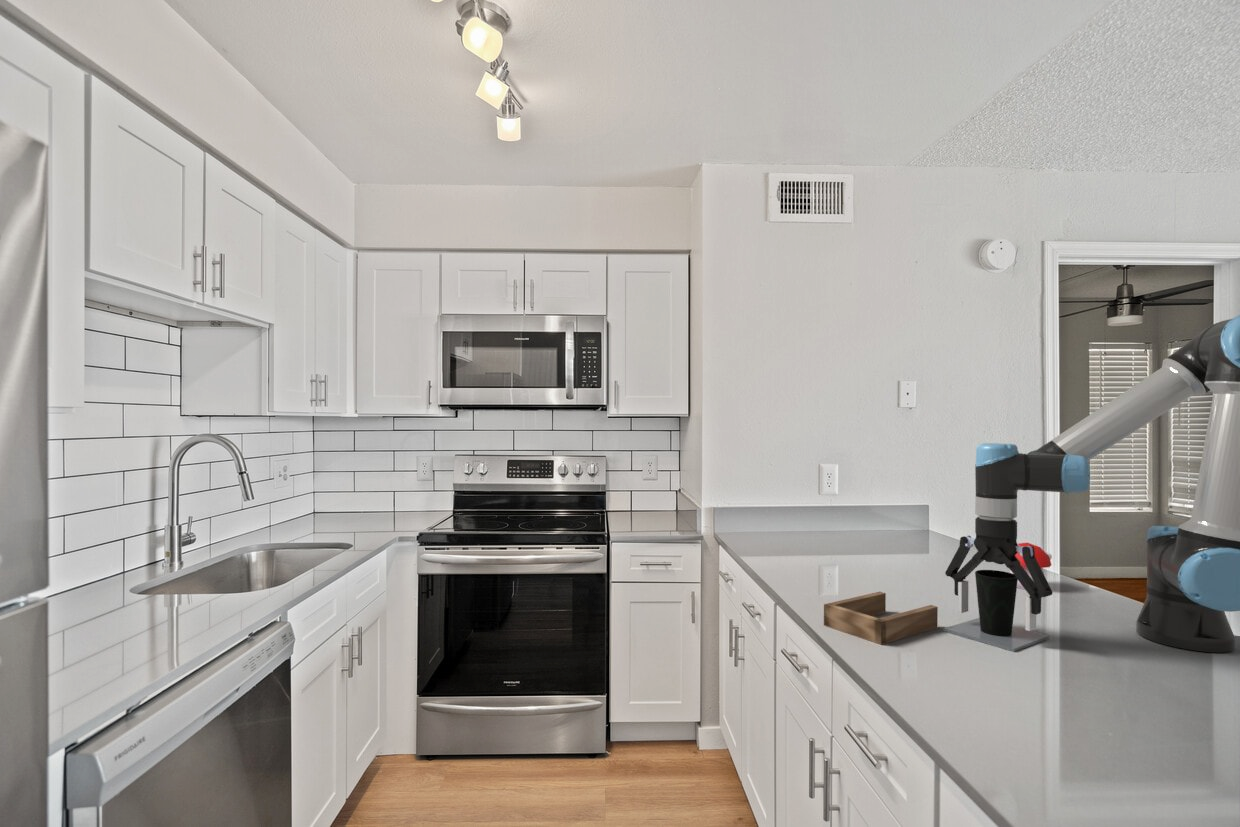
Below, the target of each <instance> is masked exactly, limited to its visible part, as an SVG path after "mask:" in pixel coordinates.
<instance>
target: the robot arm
mask: <svg viewBox="0 0 1240 827" xmlns="http://www.w3.org/2000/svg"><path fill="white" fill-rule="evenodd" d="M1209 392H1212V400H1211V406H1210V410H1209V417H1208V422H1207V428H1206V433H1205V437H1204V438H1205V439H1204V444H1203V449H1202V456H1201V461H1200V467H1199V471H1198V472H1199V473H1198V478H1197V484H1196V488H1195V493H1194V494H1195V495H1194V500H1193V506H1192V511H1191V518H1190V519H1189V520H1187V521H1186V522H1183V523H1182V524H1179V525H1178V526H1168V525H1167V526H1166V525H1152V526H1150V527H1149V528H1148V529H1147V536H1146V539H1145V543H1146V599H1145V600H1144V602H1143V605H1142V608H1141V610H1140V612H1139V614H1138V617H1137V619H1136V621H1135V625H1136V626H1135V627H1136V633H1137V634H1138V635H1139V636H1140V637H1143V638H1145V639H1147V640H1150V641H1152V642H1155V643H1158V644H1162V645H1165V646H1169V647H1173V648H1177V649H1178V648H1179V649H1184V650H1191V651H1198V652H1203V653H1204V652H1206V653H1230V652H1232V651H1234V650H1235V649H1236V638H1235V635H1234V632H1233V629H1232V627H1231V624H1230V621H1229V620H1228V617H1227V615H1226V613H1225V612H1240V314H1239V315H1237V316H1234V317H1233V318H1229V319H1225V320H1222V321H1221V320H1220V321H1219V322H1216V323H1214V324H1212V325H1210V326H1209V327H1206V328H1205V329H1203V330H1202V331H1201V332H1200V333H1198V334H1197V335H1196V336H1194V337H1193V338H1191V339H1190V340H1189V341H1188V342H1187V343H1186V344H1184V345H1183V346H1181V347H1179V349H1177V350H1175V352H1173V353H1172V354H1170V355H1169V356H1168V357H1166V358H1164V359H1163V360H1162V366H1161V367H1160V368H1159V369H1157V370H1156V371H1155V372H1153V373H1151V374H1150V375H1148V376H1146V377H1145V378H1144V379H1142V380H1141V381H1139V382H1137V383H1136V384H1135V385H1133V386H1131V387H1130V388H1128V389H1126V391H1124V392H1122V393H1121V394H1119V395H1118V396H1117V397H1115V398H1113V399H1111V400H1110V401H1109V402H1107V403H1106V404H1105V405H1103V406H1101V407H1100V408H1098V409H1097V410H1095V411H1094V412H1092V413H1091V414H1088V415H1087V416H1086V417H1084V418H1083V419H1082V420H1080V421H1078V422H1077V423H1075V424H1074V425H1072V426H1070V427H1069V428H1067V429H1066V430H1065V431H1063V432H1062V433H1060V434H1058V435H1057V436H1056V437H1054V438H1052V439H1051V440H1050V441H1048V442H1047V443H1045V444H1043V445H1042V446H1040V447H1039V448H1038V449H1035V450H1032V451H1031V450H1030V451H1029V452H1027V453H1023V452H1019V450H1018V446H1017V445H1016V444H1013V443H998V442H997V443H996V442H995V443H989V442H988V443H987V442H986V443H980V444H978V446H977V447H976V449H975V451H976V452H975V464H974V467H975V469H974V470H975V473H974V474H975V478H974V479H975V480H974V481H975V502H974V503H975V506H974V507H975V508H974V509H975V510H974V511H975V515H976V516H977V517H976V518H975V520H974V521H975V523H974V524H975V527H974V529H975V531H974V532H975V538H973V537H972V536H971V535H964V536H961V537H960V538H959V546H958V548H957V550H956V552H955V554H954V555H953V558H952V560H951V561H950V563H949V564H948V567H947V569H946V570H945V576H947V577H950V578H951V579H953V581H954V595H955V596H957V613H959V614H963V613H966V612H969V581H968V580H966V579H967V577H968V576H969V575H970V574H971V573H972V572H973V571H974V570H975V569H976V568H977V567H978V566H979V565H981V563H983V562H986V563H995V564H997V565H1004V566H1005V567H1006V568H1007V569H1009V571H1010V570H1011V571H1012V573H1013V574H1014V575H1015V577H1016V578H1017V579H1018V580H1019V582H1020V583H1021V584H1022V586H1023V587H1024V588H1025V590H1024V591H1026V592H1027V594H1028V596H1025V628H1024V629H1025V630H1027V631H1034V630H1037V615H1040V614H1041V612H1042V598H1046V597H1050V596H1052V595H1053V591H1052V588H1051V587H1050V585H1049V583H1048V580H1047V578H1046V576H1045V574H1043V573H1044V571H1043V572H1042V570H1041V568H1040V566H1039V564H1038V562H1037V560H1036V558H1035V550H1034V547H1033V546H1031V545H1030V546H1018V544H1019V543H1018V542H1017V541H1018V540H1017V539H1018V521H1017V520H1016V519H1015V518H1017V517H1018V491H1037V492H1050V493H1051V492H1052V493H1065V494H1069V493H1075V494H1076V493H1085V492H1086V491H1087V490H1088V489H1089V486H1090V480H1091V468H1090V465H1089V464H1090V463H1089V461H1090V460H1092V459H1093V458H1096V457H1097V456H1098V455H1100V454H1102V453H1103V452H1105V451H1106V450H1108V449H1110V448H1111V447H1113V446H1114V445H1116V444H1117V443H1120V442H1121V441H1122V440H1124V439H1125V438H1128V437H1129V436H1130V435H1132V434H1133V433H1135V432H1137V431H1138V430H1140V429H1141V428H1143V427H1145V426H1147V425H1148V424H1149V423H1151V422H1152V421H1154V420H1155V419H1157V418H1158V417H1161V416H1162V415H1164V414H1165V413H1167V412H1168V411H1170V410H1171V409H1173V408H1174V407H1177V406H1178V405H1179V404H1180V405H1181V403H1182V402H1185V401H1186V400H1188V399H1189V398H1191V397H1192V396H1204V395H1206V394H1207V393H1209ZM973 547H975V549H976V550H977V552H976V553H974V555H972V557H971V559H970V560H969V561H968V562H966V563H965V565H964V566H962V565H963V562H964V561H965V560H966V557H967V556H968V553H969V552H970V550H971V548H973ZM1018 552H1019V553H1020V555H1021V556H1022V557H1023V559H1024V562H1025V564H1026V566H1027V568H1028V570H1029V573H1030V575H1031V577H1032V579H1033V580H1032V579H1031V578H1030V576H1029V575H1028V574H1027V572H1026V571H1025V570H1024V568H1023V567H1022V566H1021V564H1020V561H1019V560H1018V559H1017V557H1016V556H1015V555H1016V554H1017V553H1018ZM961 566H962V568H961Z"/></svg>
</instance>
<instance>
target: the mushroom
mask: <svg viewBox="0 0 1240 827" xmlns="http://www.w3.org/2000/svg"><path fill="white" fill-rule="evenodd" d="M1017 544H1018V546H1030V545H1031V546H1033V547H1034V550H1035V558H1036V560H1037V562H1038V564H1039V566H1040V568H1041V570H1042V572H1043V574H1044V569H1043V568H1050V567H1051V566H1052V562H1051V560H1052V558H1053V556H1052V554H1051V553H1050V552H1046V551H1045V550H1044V549H1042V547H1041V546H1038V545H1035V544H1032V543H1030V542H1021V543H1017ZM1015 556H1016V557H1017V559H1018V560H1019V561H1020V564H1021V566H1022V567H1023V568H1024V570H1025V571H1026V572H1027V574H1028V575H1029V576H1030V578H1031V579H1032V577H1031V575H1030V573H1029V570H1028V568H1027V566H1026V564H1025V562H1024V559H1023V557H1022V556H1021V555H1020V553H1019V552H1018V553H1017V554H1016V555H1015ZM1009 573H1012V571H1011V570H1010V569H1009ZM1012 574H1013V573H1012ZM1044 575H1045V574H1044ZM1032 580H1033V579H1032ZM1017 589H1019V590H1024V591H1026V590H1025V588H1024V587H1023V586H1022V584H1021V583H1020V582H1019V580H1018V581H1017Z"/></svg>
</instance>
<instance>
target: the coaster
mask: <svg viewBox="0 0 1240 827" xmlns="http://www.w3.org/2000/svg"><path fill="white" fill-rule="evenodd" d="M1025 629H1026V628H1021V627H1016V626H1012V635H1011V636H1005V637H1003V636H994V635H989V634H986V633H984V632H982V631H981V629H980V618H979V617H977V618H974V619H970V620H967V621H963V622H961V623H957V624H954V625H951V626H947V627H944V628H943V632H945V633H949V634H952V635H955V636H960V637H962V638H966V639H969V640H972V641H975V642H979V643H983V644H986V645H990V646H993V647H996V648H1000V649H1004V650H1007V651H1010V652H1013V653H1014V652H1017V651H1019V650H1023V649H1026V648H1028V647H1030V646H1033V645H1036V644H1039V643H1041V642H1043V641H1047V640H1049V639H1050V636H1049V635H1047V634H1044V633H1040V632H1038V631H1037V632H1036V631H1034V630H1031V631H1027V630H1025Z"/></svg>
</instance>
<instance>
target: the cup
mask: <svg viewBox="0 0 1240 827" xmlns="http://www.w3.org/2000/svg"><path fill="white" fill-rule="evenodd" d="M974 574H975V585H976V595H977V605H978V606H977V607H978V608H977V609H978V616H979V617H978V618H980V629H981V631H982V632H984V633H986V634H989V635H994V636H1003V637H1005V636H1011V635H1012V626H1013V625H1014V624H1013V622H1014V615H1015V608H1016V607H1015V606H1016V599H1017V589H1018V588H1017V581H1018V579H1017V578H1016V577H1015V575H1014V574H1012V573H1010V571H1002V570H996V569H978V570H975V571H974Z"/></svg>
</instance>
